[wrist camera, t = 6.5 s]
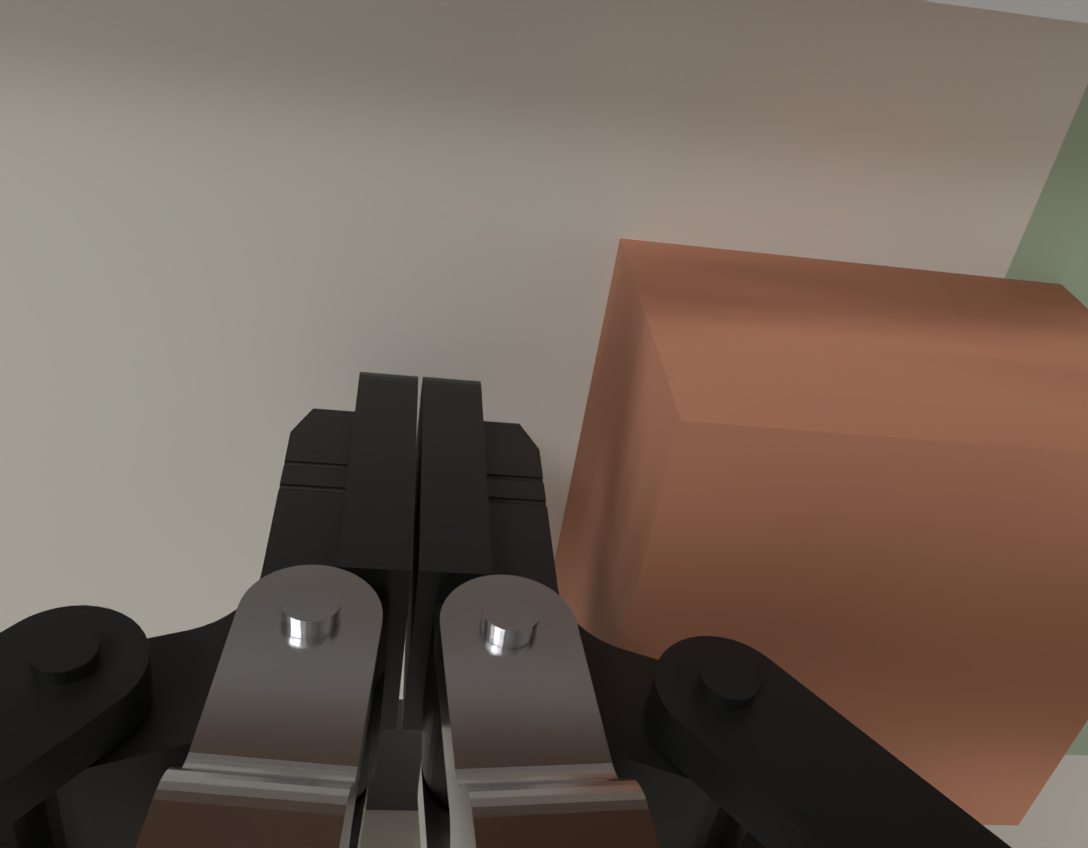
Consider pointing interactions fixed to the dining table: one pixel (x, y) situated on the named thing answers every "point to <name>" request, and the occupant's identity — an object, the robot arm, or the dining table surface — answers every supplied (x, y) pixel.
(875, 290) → the block
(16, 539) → the box
